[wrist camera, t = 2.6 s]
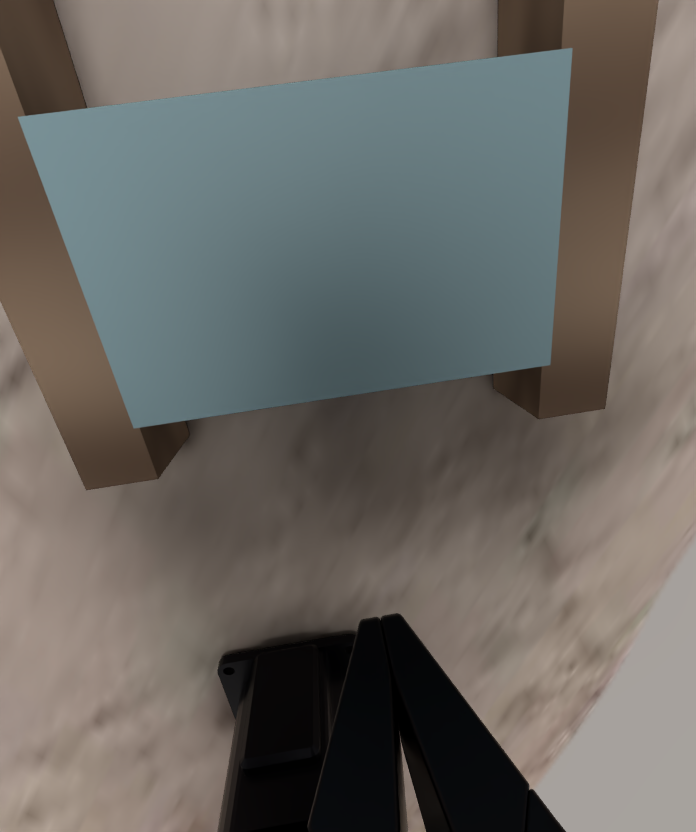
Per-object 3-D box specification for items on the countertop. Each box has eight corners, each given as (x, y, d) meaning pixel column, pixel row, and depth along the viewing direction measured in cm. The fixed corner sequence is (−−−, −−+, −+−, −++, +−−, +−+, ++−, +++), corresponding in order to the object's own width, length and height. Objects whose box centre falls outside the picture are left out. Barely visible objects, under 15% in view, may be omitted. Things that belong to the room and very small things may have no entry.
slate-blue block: (482, 336, 13) (550, 365, 9) (185, 380, 13) (133, 428, 9) (482, 122, 11) (572, 47, 7) (122, 169, 10) (17, 116, 7)
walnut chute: (546, 380, 14) (605, 408, 11) (132, 443, 14) (86, 490, 11) (586, -206, 9) (714, -424, 6) (-88, -136, 8) (-290, -339, 5)
